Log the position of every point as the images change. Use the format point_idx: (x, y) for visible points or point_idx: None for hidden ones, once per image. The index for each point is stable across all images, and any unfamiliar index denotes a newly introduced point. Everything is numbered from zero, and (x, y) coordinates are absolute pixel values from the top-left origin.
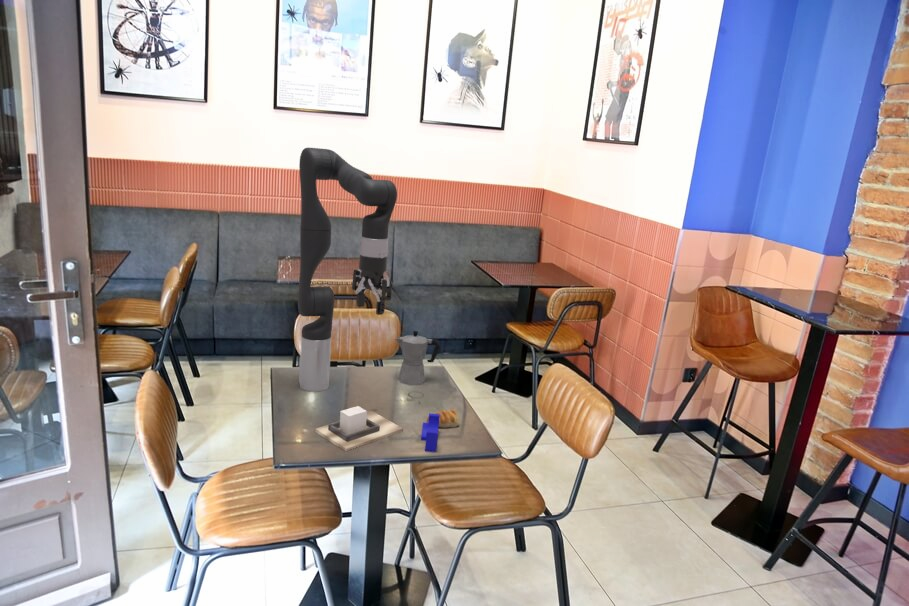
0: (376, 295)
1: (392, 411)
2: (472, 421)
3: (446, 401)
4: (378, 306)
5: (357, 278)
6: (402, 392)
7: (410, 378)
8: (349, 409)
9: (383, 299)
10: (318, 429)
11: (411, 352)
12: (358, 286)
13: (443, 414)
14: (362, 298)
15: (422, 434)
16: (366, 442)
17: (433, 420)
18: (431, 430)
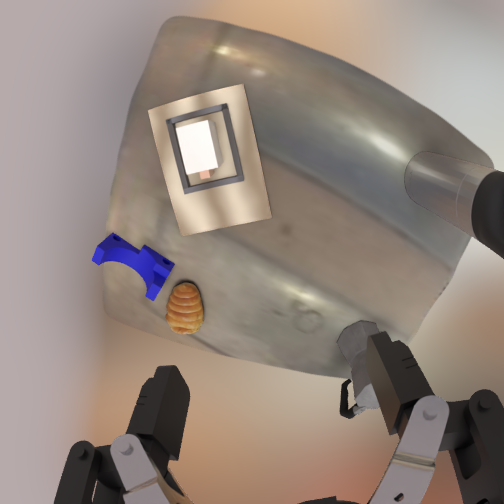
0: (143, 475)
1: (266, 256)
2: (184, 342)
3: (262, 347)
4: (145, 408)
5: (488, 494)
6: (328, 307)
7: (348, 337)
8: (207, 141)
9: (77, 451)
10: (237, 88)
11: (364, 371)
12: (421, 468)
13: (177, 312)
14: (383, 398)
15: (146, 253)
16: (159, 153)
17: (150, 284)
18: (101, 256)
